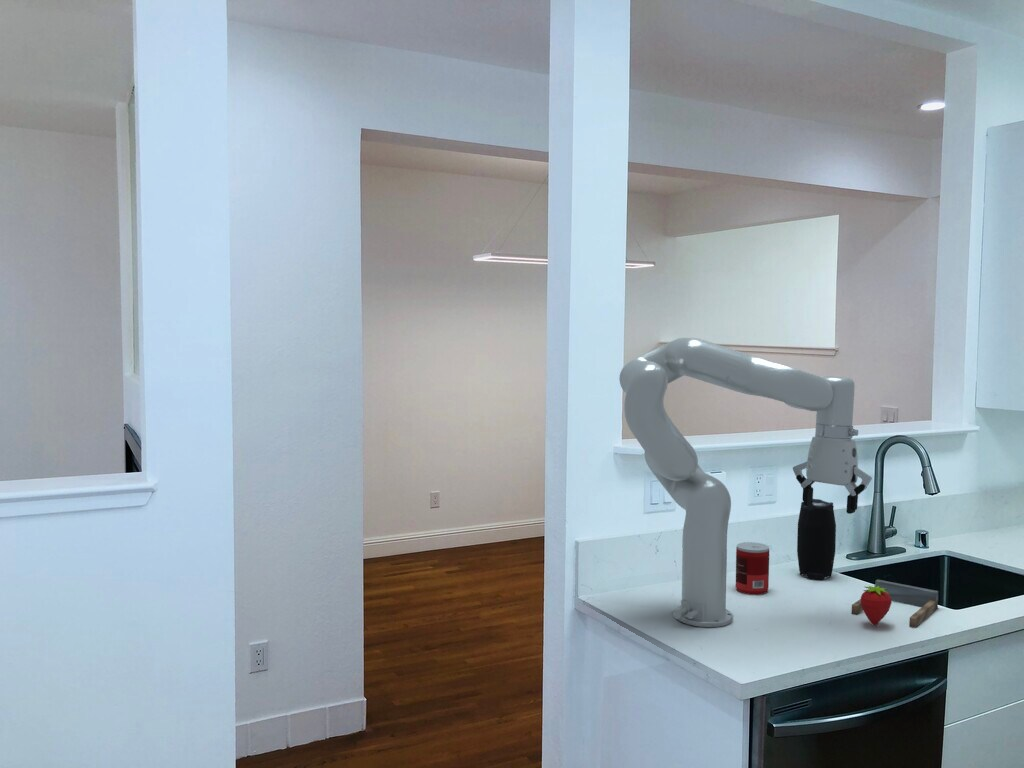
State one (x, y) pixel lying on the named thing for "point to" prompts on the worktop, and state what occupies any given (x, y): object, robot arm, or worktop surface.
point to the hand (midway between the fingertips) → (829, 509)
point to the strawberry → (875, 603)
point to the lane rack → (907, 600)
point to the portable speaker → (816, 539)
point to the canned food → (752, 568)
